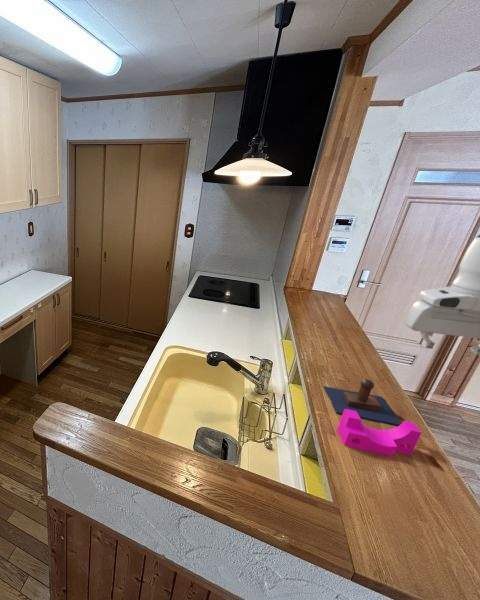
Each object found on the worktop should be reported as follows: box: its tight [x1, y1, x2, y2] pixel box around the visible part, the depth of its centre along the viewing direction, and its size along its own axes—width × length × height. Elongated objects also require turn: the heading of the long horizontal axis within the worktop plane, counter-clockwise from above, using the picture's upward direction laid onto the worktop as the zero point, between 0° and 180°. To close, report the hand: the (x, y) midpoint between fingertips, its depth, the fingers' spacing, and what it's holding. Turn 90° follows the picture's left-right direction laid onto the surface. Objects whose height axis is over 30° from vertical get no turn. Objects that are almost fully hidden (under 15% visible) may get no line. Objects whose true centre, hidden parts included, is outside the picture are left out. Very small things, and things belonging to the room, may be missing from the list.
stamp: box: [342, 378, 381, 412], centre depth 101 cm, size 8×5×9 cm, turn 69°
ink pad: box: [323, 385, 403, 427], centre depth 102 cm, size 16×14×1 cm
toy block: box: [336, 409, 422, 458], centre depth 86 cm, size 15×6×8 cm, turn 67°
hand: (450, 350), depth 81 cm, fingers open, 8 cm apart
